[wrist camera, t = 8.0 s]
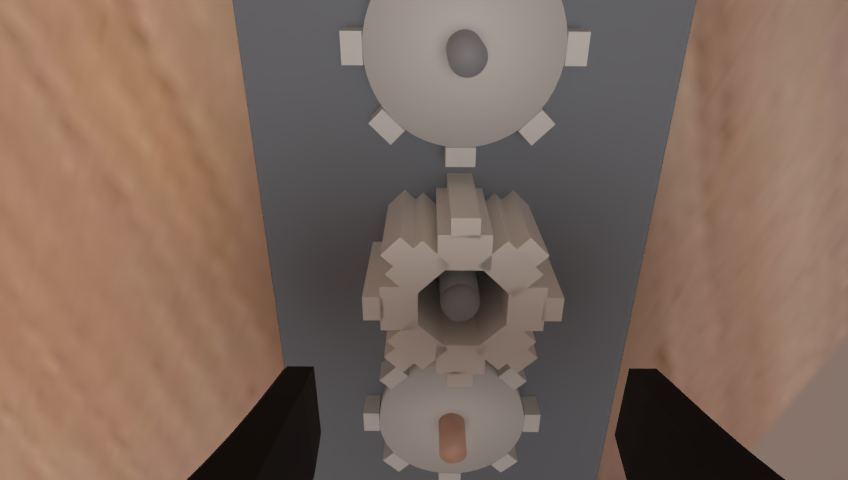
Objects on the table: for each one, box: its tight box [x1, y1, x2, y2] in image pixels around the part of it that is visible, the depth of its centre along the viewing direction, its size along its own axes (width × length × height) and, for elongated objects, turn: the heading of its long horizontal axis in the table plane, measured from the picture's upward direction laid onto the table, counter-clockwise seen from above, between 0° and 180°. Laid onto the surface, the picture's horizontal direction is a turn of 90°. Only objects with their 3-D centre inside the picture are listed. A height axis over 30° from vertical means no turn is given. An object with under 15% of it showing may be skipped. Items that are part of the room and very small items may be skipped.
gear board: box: [233, 0, 696, 480], centre depth 18 cm, size 24×13×5 cm, turn 0°
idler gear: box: [362, 173, 565, 387], centre depth 17 cm, size 6×6×4 cm
